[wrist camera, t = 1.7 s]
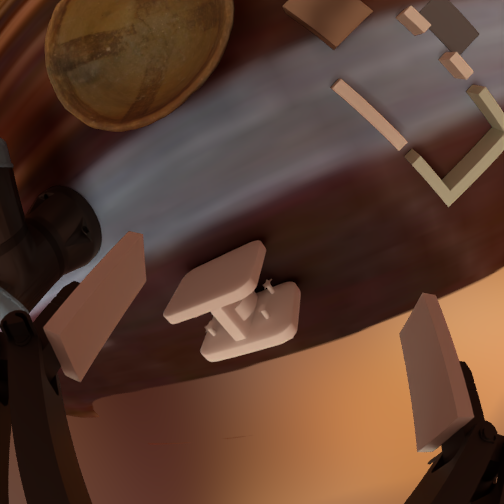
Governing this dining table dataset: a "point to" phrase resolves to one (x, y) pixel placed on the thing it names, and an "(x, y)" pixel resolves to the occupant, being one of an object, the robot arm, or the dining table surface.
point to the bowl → (133, 56)
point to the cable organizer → (236, 304)
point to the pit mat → (449, 25)
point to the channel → (448, 59)
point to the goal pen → (477, 158)
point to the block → (328, 17)
